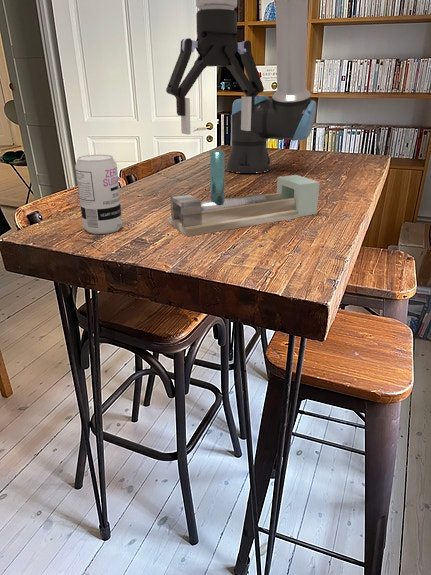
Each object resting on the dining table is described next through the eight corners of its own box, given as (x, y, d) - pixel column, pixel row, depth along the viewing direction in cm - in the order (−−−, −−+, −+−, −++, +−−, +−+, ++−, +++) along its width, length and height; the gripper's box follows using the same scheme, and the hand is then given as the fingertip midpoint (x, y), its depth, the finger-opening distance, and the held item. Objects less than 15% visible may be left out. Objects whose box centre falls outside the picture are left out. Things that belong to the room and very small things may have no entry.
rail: (169, 223, 100) (167, 194, 97) (273, 207, 111) (275, 181, 108) (187, 236, 92) (186, 205, 89) (297, 217, 103) (300, 189, 100)
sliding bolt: (178, 218, 97) (176, 153, 91) (257, 206, 105) (260, 146, 99) (185, 222, 94) (182, 155, 88) (265, 210, 102) (268, 148, 96)
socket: (275, 207, 111) (277, 177, 108) (294, 204, 113) (296, 174, 110) (297, 217, 104) (300, 184, 100) (316, 213, 106) (319, 182, 103)
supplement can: (87, 223, 100) (78, 154, 93) (124, 222, 101) (118, 153, 94) (80, 235, 93) (70, 161, 86) (120, 234, 93) (113, 160, 87)
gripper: (159, 2, 74) (165, 137, 83) (285, 11, 84) (278, 130, 93) (144, 8, 80) (152, 133, 89) (263, 15, 90) (259, 127, 99)
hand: (216, 132), depth 91 cm, fingers open, 13 cm apart
